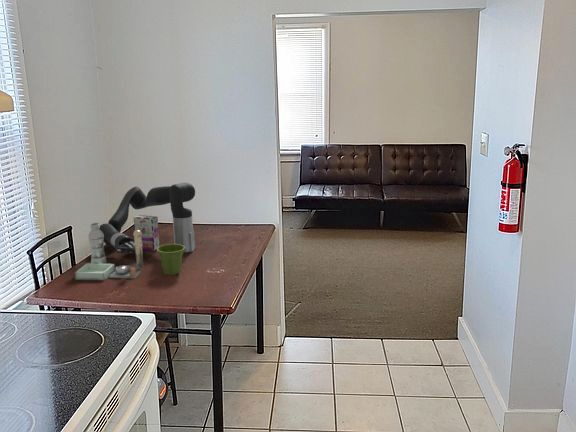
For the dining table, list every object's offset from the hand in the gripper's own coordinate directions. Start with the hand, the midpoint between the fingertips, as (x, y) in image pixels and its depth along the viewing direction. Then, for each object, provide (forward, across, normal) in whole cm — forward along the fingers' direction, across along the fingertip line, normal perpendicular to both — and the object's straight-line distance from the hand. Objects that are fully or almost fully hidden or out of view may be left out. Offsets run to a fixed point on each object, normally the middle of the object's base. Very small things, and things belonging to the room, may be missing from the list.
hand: (138, 252), depth 241 cm
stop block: (+7, +6, -7) cm, 12 cm away
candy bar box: (-24, -16, -9) cm, 30 cm away
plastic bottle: (-14, +13, -8) cm, 21 cm away
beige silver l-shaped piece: (+2, +5, -6) cm, 8 cm away
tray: (-4, +18, -7) cm, 20 cm away
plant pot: (+15, -8, -8) cm, 18 cm away
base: (+4, +8, -7) cm, 12 cm away
